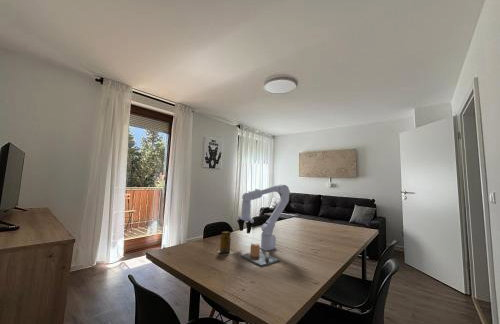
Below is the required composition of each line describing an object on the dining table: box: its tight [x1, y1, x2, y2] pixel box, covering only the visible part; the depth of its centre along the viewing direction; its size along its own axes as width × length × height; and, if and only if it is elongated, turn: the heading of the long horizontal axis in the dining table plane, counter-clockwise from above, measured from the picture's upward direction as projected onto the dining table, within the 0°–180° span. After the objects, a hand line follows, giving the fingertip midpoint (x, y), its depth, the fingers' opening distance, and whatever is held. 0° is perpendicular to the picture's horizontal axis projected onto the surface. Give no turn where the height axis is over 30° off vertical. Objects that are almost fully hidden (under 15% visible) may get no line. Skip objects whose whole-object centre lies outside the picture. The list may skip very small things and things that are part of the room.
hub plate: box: [239, 251, 281, 268], centre depth 121 cm, size 14×18×5 cm
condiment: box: [216, 231, 234, 256], centre depth 130 cm, size 7×8×12 cm
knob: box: [249, 243, 261, 257], centre depth 124 cm, size 5×5×6 cm
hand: (244, 232), depth 140 cm, fingers open, 7 cm apart
